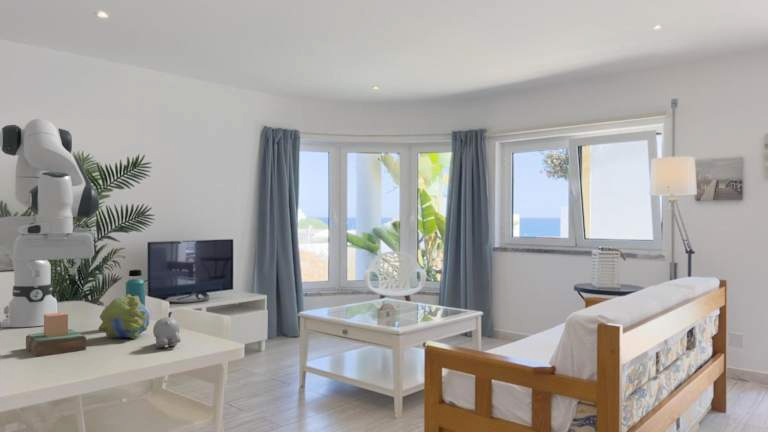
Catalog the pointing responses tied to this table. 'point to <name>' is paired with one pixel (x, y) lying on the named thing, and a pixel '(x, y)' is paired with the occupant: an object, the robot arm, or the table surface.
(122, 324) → the earth globe model
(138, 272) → the beverage bottle
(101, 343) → the table surface
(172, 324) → the round bodied animal figurine
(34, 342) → the green lidded wooden box
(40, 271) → the robot arm
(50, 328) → the terracotta block
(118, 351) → the table surface
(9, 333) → the table surface
